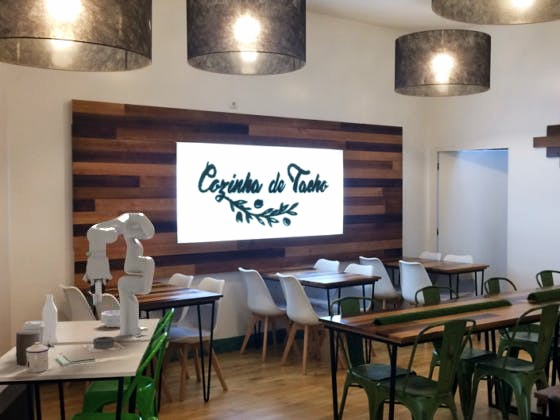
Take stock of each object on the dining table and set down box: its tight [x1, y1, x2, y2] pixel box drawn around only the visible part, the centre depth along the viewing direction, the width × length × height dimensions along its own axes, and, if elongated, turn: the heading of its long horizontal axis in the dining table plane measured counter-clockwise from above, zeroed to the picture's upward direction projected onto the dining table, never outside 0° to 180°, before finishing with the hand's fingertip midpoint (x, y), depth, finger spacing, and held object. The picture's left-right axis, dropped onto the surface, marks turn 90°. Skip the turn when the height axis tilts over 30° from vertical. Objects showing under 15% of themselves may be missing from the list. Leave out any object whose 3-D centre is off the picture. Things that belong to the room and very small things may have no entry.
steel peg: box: [92, 279, 103, 306], centre depth 303 cm, size 4×4×13 cm
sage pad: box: [55, 355, 97, 367], centre depth 289 cm, size 14×14×1 cm
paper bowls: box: [100, 309, 120, 328], centre depth 365 cm, size 15×15×8 cm
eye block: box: [83, 336, 125, 353], centre depth 308 cm, size 16×16×6 cm
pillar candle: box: [15, 329, 40, 366], centre depth 285 cm, size 10×10×15 cm
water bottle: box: [41, 293, 59, 347], centre depth 318 cm, size 7×7×25 cm
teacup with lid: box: [26, 342, 50, 373], centre depth 272 cm, size 12×9×12 cm
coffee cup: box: [22, 320, 45, 346], centre depth 299 cm, size 10×10×15 cm
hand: (97, 293), depth 303 cm, fingers closed on steel peg, 4 cm apart
